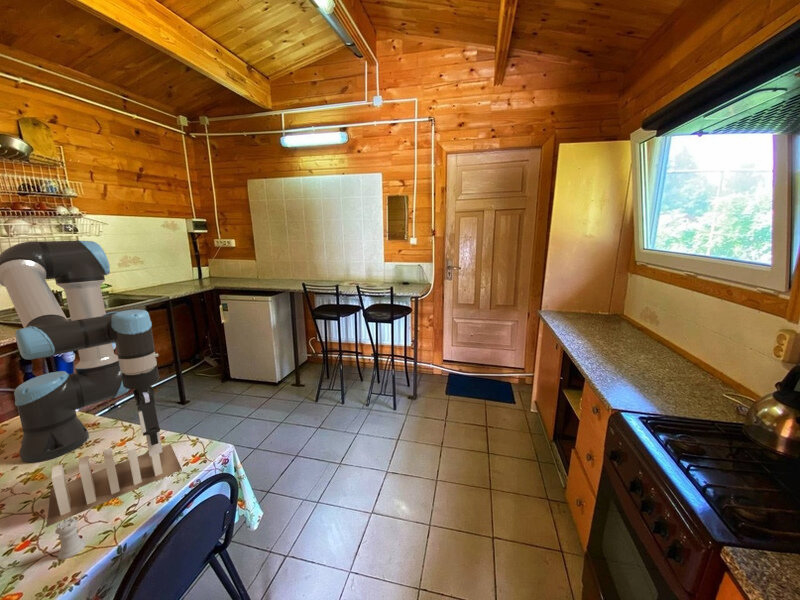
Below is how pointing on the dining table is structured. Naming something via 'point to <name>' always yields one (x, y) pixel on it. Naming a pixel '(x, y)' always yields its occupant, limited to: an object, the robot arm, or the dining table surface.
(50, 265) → the robot arm
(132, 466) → the domino
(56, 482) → the domino
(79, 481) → the walnut board
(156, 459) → the domino
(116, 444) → the dining table surface
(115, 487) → the domino
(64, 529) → the rook chess piece
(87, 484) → the domino
